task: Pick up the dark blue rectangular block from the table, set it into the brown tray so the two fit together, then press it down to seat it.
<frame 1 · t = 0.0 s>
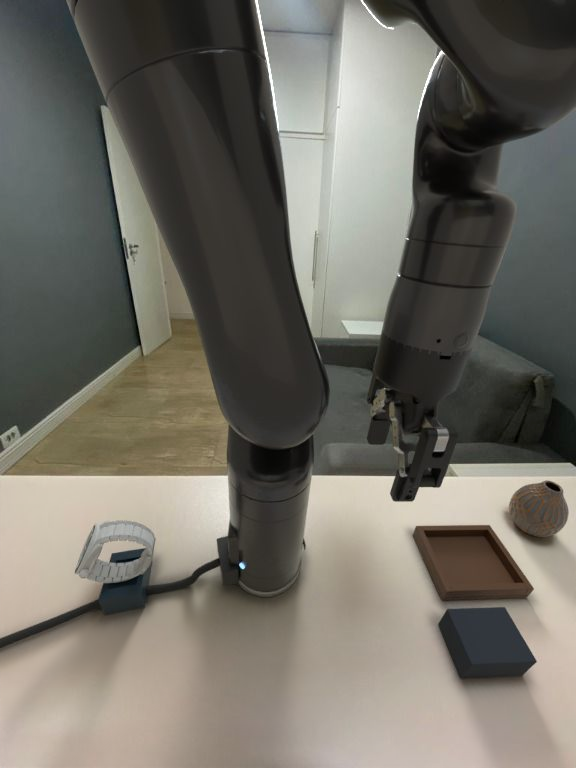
hand: (386, 468, 35), 17 cm above the table, tool pointing down, fingers open, 8 cm apart
brown tray: (465, 563, 43), on the table
watch: (129, 587, 38), on the table
vase: (526, 525, 50), on the table
dark blue rectangular block: (478, 648, 35), on the table
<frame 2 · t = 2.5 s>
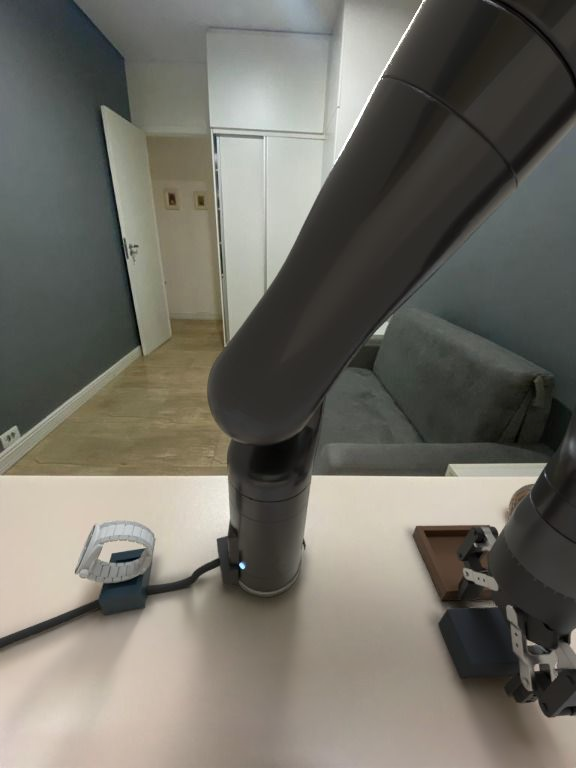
hand: (487, 640, 34), 2 cm above the table, tool pointing down, fingers open, 8 cm apart
nothing on the table moved.
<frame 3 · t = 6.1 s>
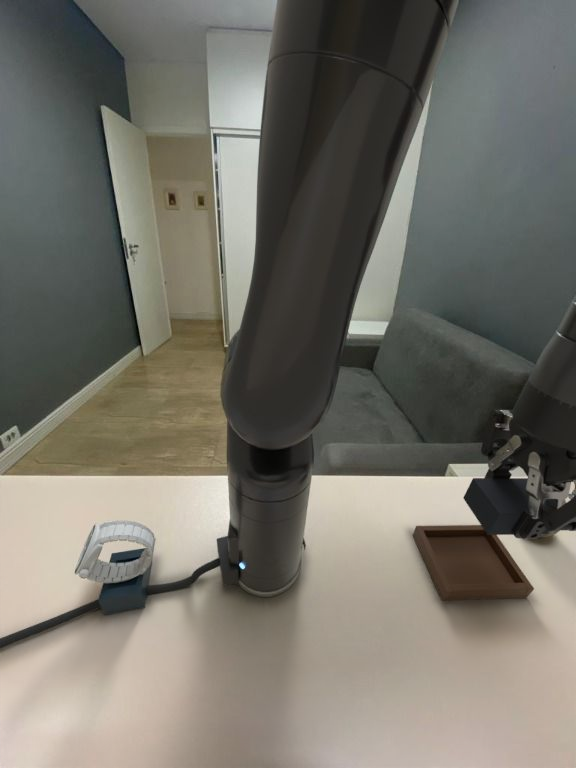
hand: (504, 512, 36), 13 cm above the table, tool pointing down, fingers closed on dark blue rectangular block, 5 cm apart
dark blue rectangular block: (502, 515, 36), point 12 cm above the table, touching gripper
everything else where it was.
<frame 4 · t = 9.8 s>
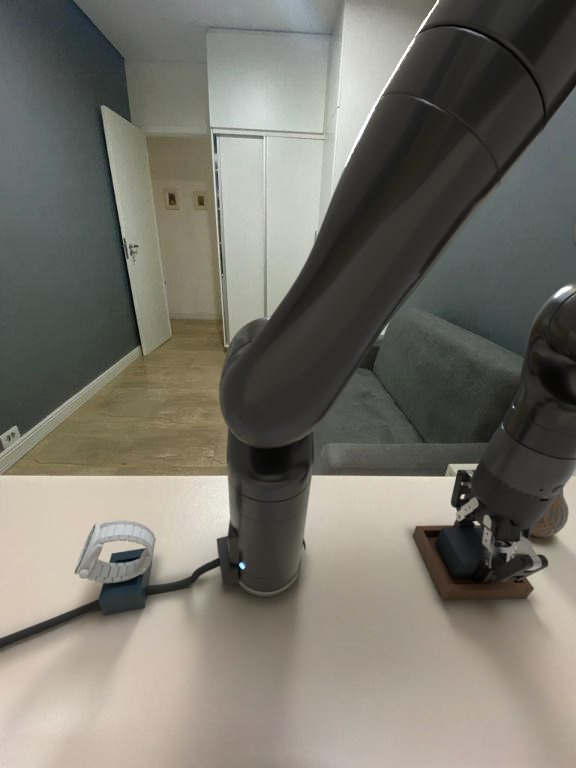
hand: (468, 557, 43), 2 cm above the table, tool pointing down, fingers closed on dark blue rectangular block, 5 cm apart
dark blue rectangular block: (467, 559, 43), point 1 cm above the table, touching gripper
everything else where it was.
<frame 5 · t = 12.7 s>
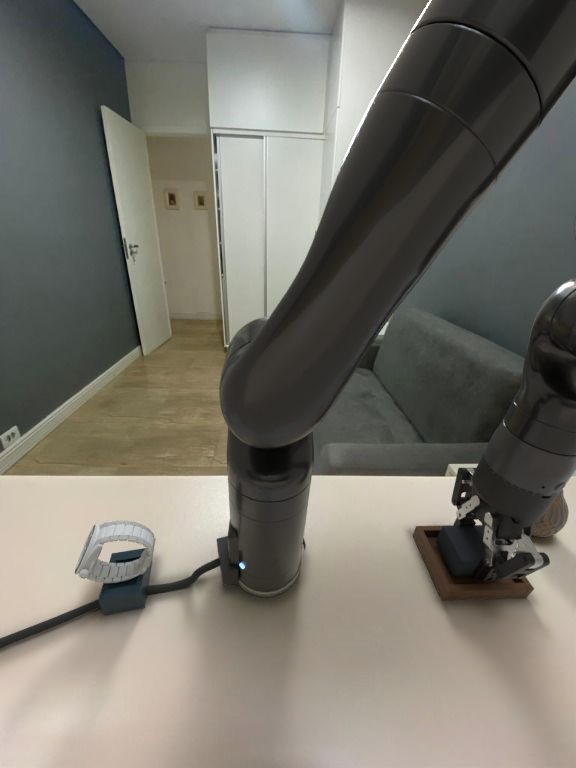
hand: (469, 555, 42), 2 cm above the table, tool pointing down, fingers closed on dark blue rectangular block, 5 cm apart
dark blue rectangular block: (467, 557, 43), point 1 cm above the table, touching gripper
everything else where it was.
when the fingers open (2 cm above the table, at t = 15.4 s): dark blue rectangular block stays where it is, resting on brown tray.
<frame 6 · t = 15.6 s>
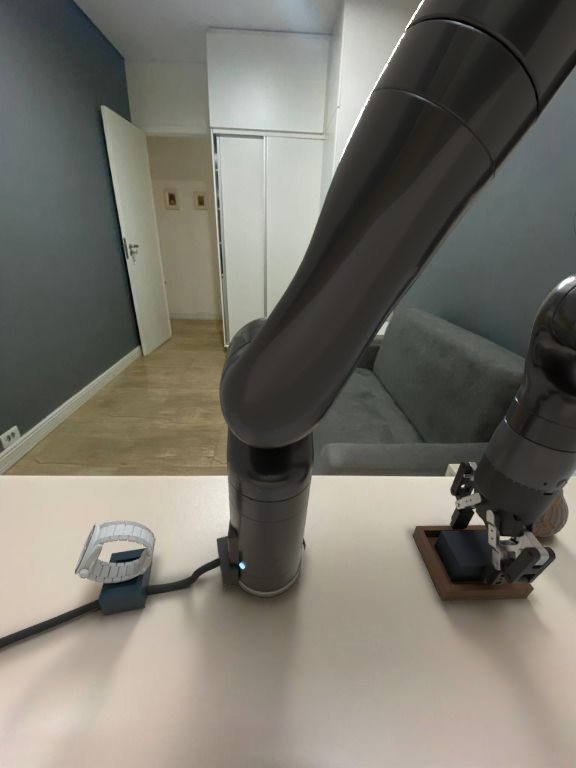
hand: (471, 551, 42), 3 cm above the table, tool pointing down, fingers open, 7 cm apart
dark blue rectangular block: (466, 562, 43), point 1 cm above the table, touching brown tray
everything else where it was.
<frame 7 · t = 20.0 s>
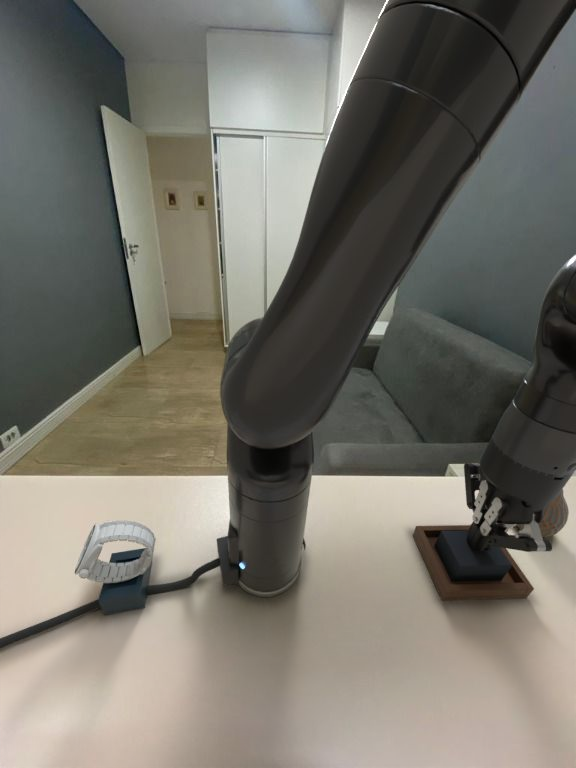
hand: (476, 545, 41), 4 cm above the table, tool pointing down, fingers closed
dark blue rectangular block: (466, 562, 43), point 1 cm above the table, touching brown tray, gripper
everything else where it was.
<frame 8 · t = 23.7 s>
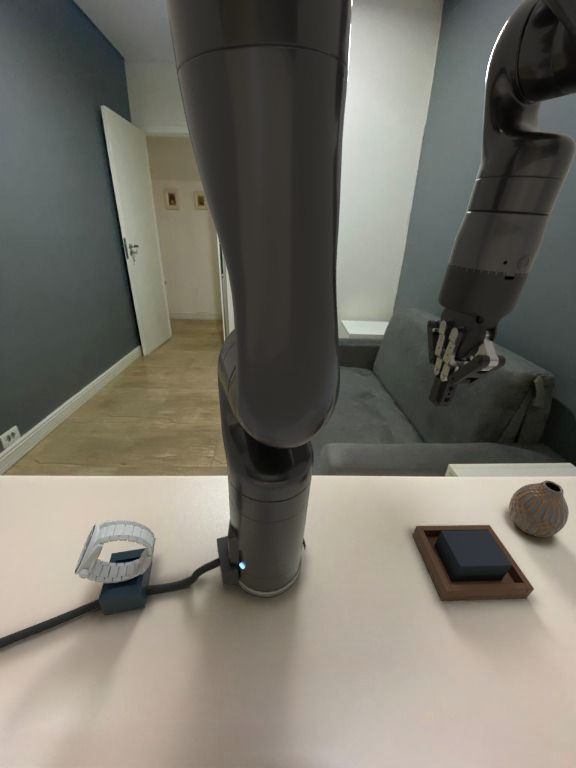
hand: (438, 403, 40), 21 cm above the table, tool pointing down, fingers closed
dark blue rectangular block: (466, 562, 43), point 1 cm above the table, touching brown tray
everything else where it was.
at the end: dark blue rectangular block 0.3 cm off-centre in the brown tray, point 0.6 cm above the brown tray's base; dark blue rectangular block tilted 0°; the gripper is holding nothing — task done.
